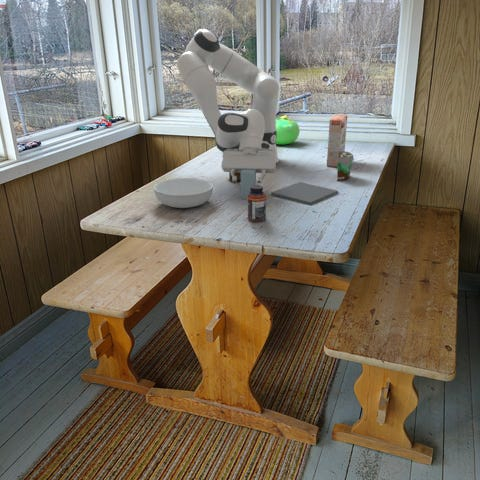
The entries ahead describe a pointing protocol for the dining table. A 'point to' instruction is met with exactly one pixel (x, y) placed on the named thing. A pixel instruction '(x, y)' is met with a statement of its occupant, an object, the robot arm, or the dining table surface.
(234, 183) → the condiment
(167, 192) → the serving bowl
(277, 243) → the dining table surface
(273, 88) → the robot arm
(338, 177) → the food container
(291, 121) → the toy bird
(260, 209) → the supplement bottle
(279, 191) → the rubber mat
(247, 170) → the slate-blue block
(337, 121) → the cracker box
